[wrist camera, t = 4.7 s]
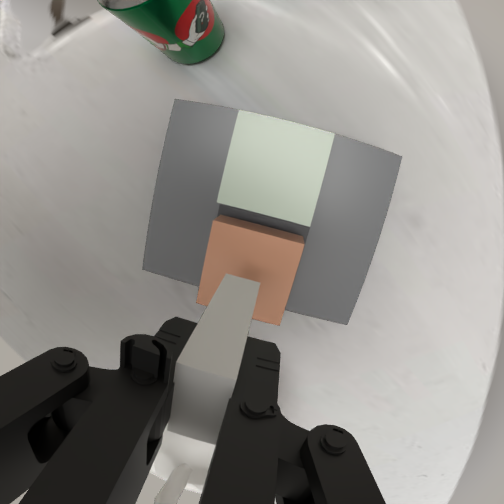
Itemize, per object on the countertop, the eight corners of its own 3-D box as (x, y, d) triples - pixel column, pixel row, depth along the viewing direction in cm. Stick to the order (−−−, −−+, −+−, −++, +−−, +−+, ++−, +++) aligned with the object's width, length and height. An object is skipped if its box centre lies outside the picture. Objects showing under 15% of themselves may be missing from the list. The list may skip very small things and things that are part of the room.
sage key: (224, 198, 18) (216, 202, 16) (244, 115, 17) (238, 109, 15) (307, 220, 18) (309, 226, 16) (329, 137, 17) (335, 133, 15)
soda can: (221, 7, 20) (176, -81, 8) (229, 58, 21) (180, -20, 9) (162, 22, 20) (88, -46, 9) (167, 72, 22) (82, 18, 10)
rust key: (204, 290, 20) (196, 302, 18) (220, 214, 19) (212, 220, 17) (280, 310, 20) (279, 325, 18) (302, 236, 19) (304, 244, 17)
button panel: (162, 254, 26) (141, 270, 22) (192, 108, 22) (174, 98, 18) (339, 301, 25) (347, 326, 21) (384, 157, 22) (403, 156, 18)
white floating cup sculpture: (140, 365, 29) (7, 567, 5) (227, 308, 26) (92, 627, 2) (221, 441, 31) (165, 637, 7) (310, 402, 28) (307, 655, 4)
